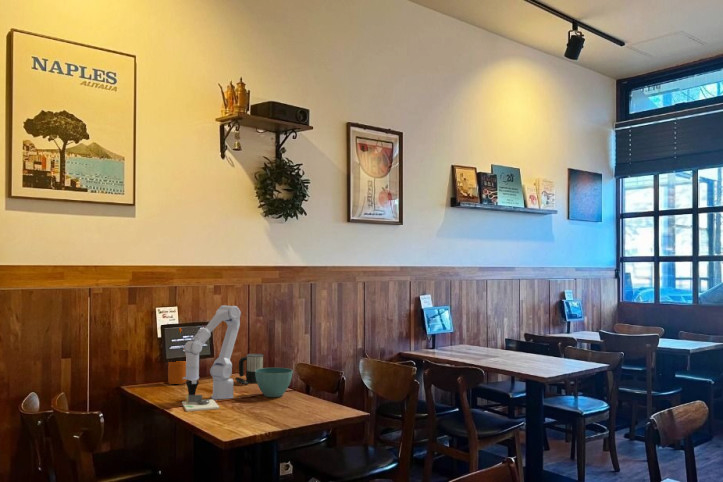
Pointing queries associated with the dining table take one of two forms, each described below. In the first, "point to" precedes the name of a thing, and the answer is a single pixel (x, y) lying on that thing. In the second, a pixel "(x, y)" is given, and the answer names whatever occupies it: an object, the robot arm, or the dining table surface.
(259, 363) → the milk frother
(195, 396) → the tuner dial
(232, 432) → the dining table surface
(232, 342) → the robot arm
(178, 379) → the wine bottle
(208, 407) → the tuner plate
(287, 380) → the plant pot
